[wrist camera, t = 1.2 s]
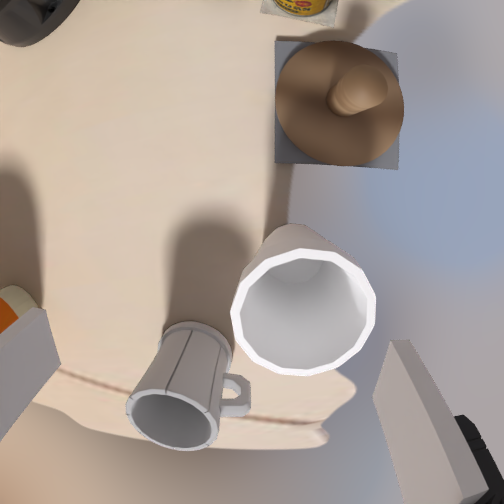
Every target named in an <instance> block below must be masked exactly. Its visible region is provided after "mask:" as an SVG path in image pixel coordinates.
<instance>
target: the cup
mask: <svg viewBox="0 0 504 504" xmlns="http://www.w3.org/2000/svg"><path fill="white" fill-rule="evenodd" d="M231 362H232V351H231V347H230V345H229V343H228V341H227V340H226V338H225V337H224V336H223V335H222V334H221V333H220V332H219V331H218V330H216V329H214V328H212V327H210V326H209V325H207V324H203V323H199V322H195V321H189V322H180V323H177V324H174V325H172V326H171V327H170V328H168V329H167V330H166V331H165V332H164V334H163V336H162V338H161V340H160V341H159V343H158V352H157V355H156V356H155V358H154V360H153V362H152V363H151V365H150V366H149V368H148V370H147V371H146V373H145V374H144V376H143V377H142V379H141V380H140V382H139V383H138V385H137V386H136V388H135V389H134V391H133V392H132V393H131V395H130V396H129V398H128V400H127V402H126V413H127V416H128V419H129V421H130V423H131V424H132V425H133V426H134V428H135V429H136V430H137V431H138V432H139V433H140V434H142V435H143V436H144V437H146V438H147V439H148V440H150V441H152V442H154V443H156V444H158V445H160V446H163V447H167V448H170V449H174V448H175V450H181V451H193V450H199V449H202V448H205V447H207V446H209V445H211V444H212V443H213V442H214V441H215V440H216V439H217V436H218V432H219V423H220V417H243V416H244V415H246V414H247V413H249V411H250V408H251V387H250V382H249V381H248V380H246V379H245V378H244V377H243V376H241V375H236V374H229V373H228V372H229V370H230V366H231ZM223 388H228V389H233V390H234V391H235V392H236V393H237V394H238V395H239V396H238V397H237V398H235V399H222V391H223Z"/></svg>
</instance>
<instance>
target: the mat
mask: <svg viewBox="0 0 504 504" xmlns="http://www.w3.org/2000/svg"><path fill="white" fill-rule="evenodd" d="M312 44H315V43H312V42H294V41H275V94H276V86H277V81H278V79H279V76H280V73H281V71H282V70H283V68H284V66H285V65H286V63H287V62H288V61H289V60H290V59H291V58H292V57H293V56H294V55H295V54H296V53H297V52H299V51H300V50H302V49H303V48H305V47H307V46H309V45H312ZM365 49H367V50H369V51H371V52H372V53H374V54H375V55H376V56H378V57H379V58H380V59H381V60H382V61H383V62H384V63H385V64H386V65H387V66H388V67H389V69H390V70H391V71H392V73H393V74H394V76H395V77H396V79H397V82H398V84H399V79H398V62H397V53H392V52H386V51H381V50H375V49H368V48H365ZM398 162H399V134H398V136H397V138H396V140H395V141H394V143H393V144H392V145H391V146H390V147H389V149H388V150H387V151H386V152H384V153H383V154H382V155H381V156H379V157H377V158H376V159H374V160H372V161H370V162H367V163H364V164H360V165H355V166H356V167H369V168H381V169H392V170H398ZM275 163H296V164H322V165H331V164H327V163H323V162H321V161H318V160H316V159H314V158H312V157H310V156H308V155H307V154H305V153H304V152H302V151H301V150H300V149H299V148H298V147H296V146H295V145H294V144H293V142H292V141H291V140H290V139H289V138H288V136H287V135H286V133H285V132H284V130H283V128H282V126H281V124H280V122H279V119H278V116H277V111H276V104H275Z"/></svg>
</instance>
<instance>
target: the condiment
mask: <svg viewBox="0 0 504 504" xmlns="http://www.w3.org/2000/svg"><path fill="white" fill-rule="evenodd" d="M337 5H338V0H263V2H262V7H261V10H260V13H265V14H271V15H277V16H282V17H287V18H292V19H297V20H302V21H306V22H311V23H316V24H321V25H325V26H329V27H333V28H334V23H335V17H336V11H337Z"/></svg>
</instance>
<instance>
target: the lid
mask: <svg viewBox="0 0 504 504" xmlns="http://www.w3.org/2000/svg"><path fill="white" fill-rule="evenodd" d="M275 104H276V111H277V116H278V119H279V122H280V124H281V126H282V128H283V130H284V132H285V133H286V135H287V136H288V138H289V139H290V140H291V141H292V142H293V144H294V145H295V146H296V147H298V148H299V149H300V150H301V151H302V152H304V153H305V154H307V155H308V156H310V157H312V158H314V159H316V160H318V161H321V162H323V163H327V164H331V165H337V166H355V165H360V164H364V163H367V162H370V161H372V160H374V159H376V158H377V157H379V156H381V155H382V154H383V153H384V152H386V151H387V150H388V149H389V147H390V146H391V145H392V144H393V143H394V141H395V140H396V138H397V136H398V134H399V132H400V129H401V126H402V122H403V117H404V102H403V96H402V92H401V89H400V86H399V84H398V82H397V79H396V77H395V76H394V74H393V73H392V71H391V70H390V69H389V67H388V66H387V65H386V64H385V63H384V62H383V61H382V60H381V59H380V58H379V57H378V56H376V55H375V54H374V53H372V52H371V51H369V50H367V49H365V48H363V47H361V46H359V45H356V44H353V43H349V42H344V41H323V42H319V43H315V44H312V45H309V46H307V47H305V48H303V49H302V50H300V51H299V52H297V53H296V54H295V55H294V56H293V57H292V58H291V59H290V60H289V61H288V62H287V63H286V65H285V66H284V68H283V70H282V71H281V73H280V76H279V79H278V81H277V86H276V94H275Z"/></svg>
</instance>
